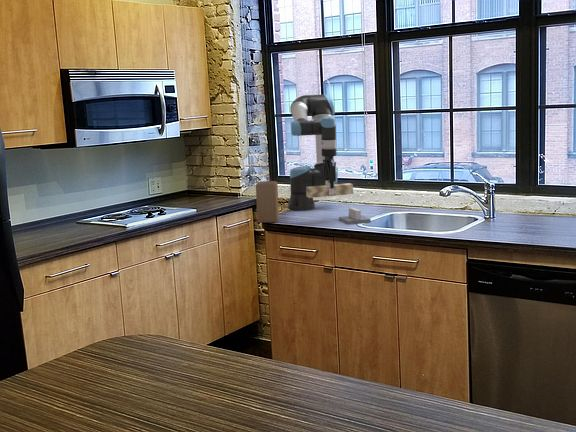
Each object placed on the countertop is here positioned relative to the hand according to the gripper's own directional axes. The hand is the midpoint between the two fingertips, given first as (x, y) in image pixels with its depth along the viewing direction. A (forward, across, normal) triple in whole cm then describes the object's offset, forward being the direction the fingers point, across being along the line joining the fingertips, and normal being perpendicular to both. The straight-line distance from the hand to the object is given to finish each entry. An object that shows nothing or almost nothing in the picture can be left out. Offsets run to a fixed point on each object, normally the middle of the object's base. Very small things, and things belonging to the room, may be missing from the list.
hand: (329, 193), depth 342 cm
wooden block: (+13, -7, -31) cm, 35 cm away
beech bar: (+1, 0, 0) cm, 1 cm away
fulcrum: (+13, +12, +9) cm, 19 cm away
